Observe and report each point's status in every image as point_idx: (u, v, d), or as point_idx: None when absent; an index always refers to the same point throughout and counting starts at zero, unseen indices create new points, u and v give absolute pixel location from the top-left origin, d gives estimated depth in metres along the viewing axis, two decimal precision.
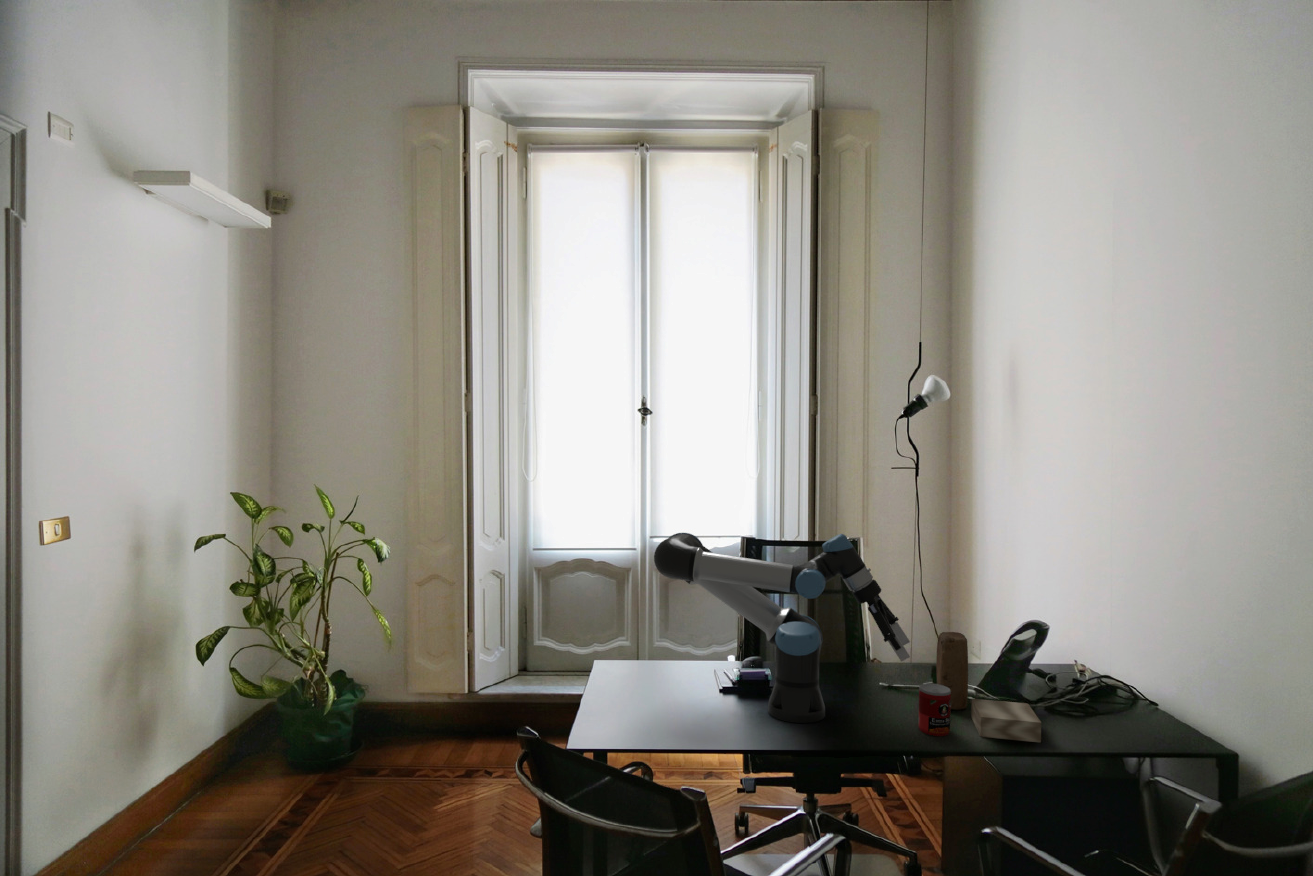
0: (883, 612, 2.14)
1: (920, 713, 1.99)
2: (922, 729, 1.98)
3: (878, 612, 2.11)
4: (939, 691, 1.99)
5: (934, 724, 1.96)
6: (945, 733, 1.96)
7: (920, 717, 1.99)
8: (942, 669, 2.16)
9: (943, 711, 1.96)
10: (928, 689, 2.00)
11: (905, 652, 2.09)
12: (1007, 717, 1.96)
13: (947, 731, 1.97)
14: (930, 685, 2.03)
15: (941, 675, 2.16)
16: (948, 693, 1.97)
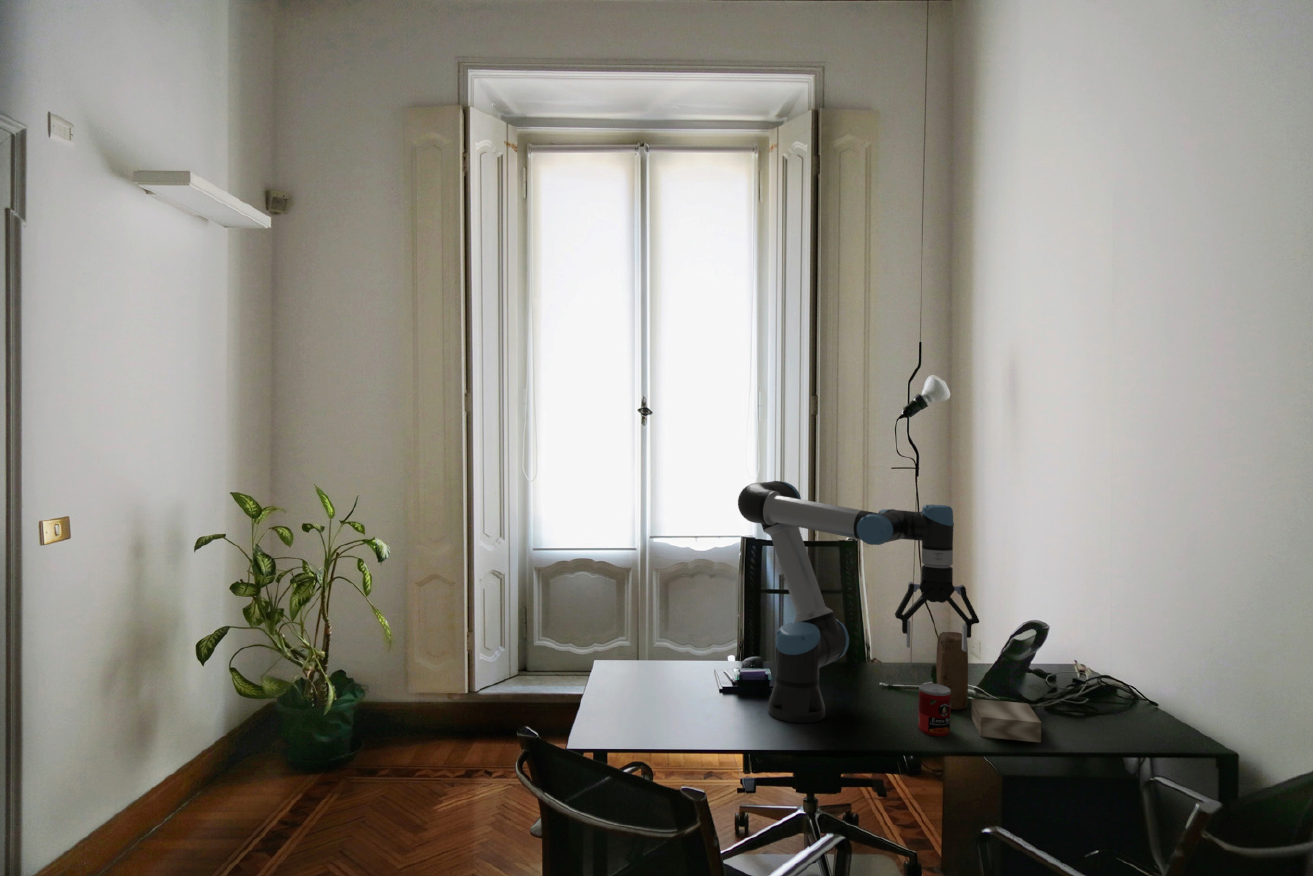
0: (921, 598, 1.99)
1: (920, 713, 1.99)
2: (922, 729, 1.98)
3: (908, 592, 2.00)
4: (939, 691, 1.99)
5: (934, 724, 1.96)
6: (945, 733, 1.96)
7: (920, 717, 1.99)
8: (942, 669, 2.16)
9: (943, 711, 1.96)
10: (928, 689, 2.00)
11: (907, 640, 2.00)
12: (1007, 717, 1.96)
13: (947, 731, 1.97)
14: (930, 685, 2.03)
15: (941, 675, 2.16)
16: (948, 693, 1.97)
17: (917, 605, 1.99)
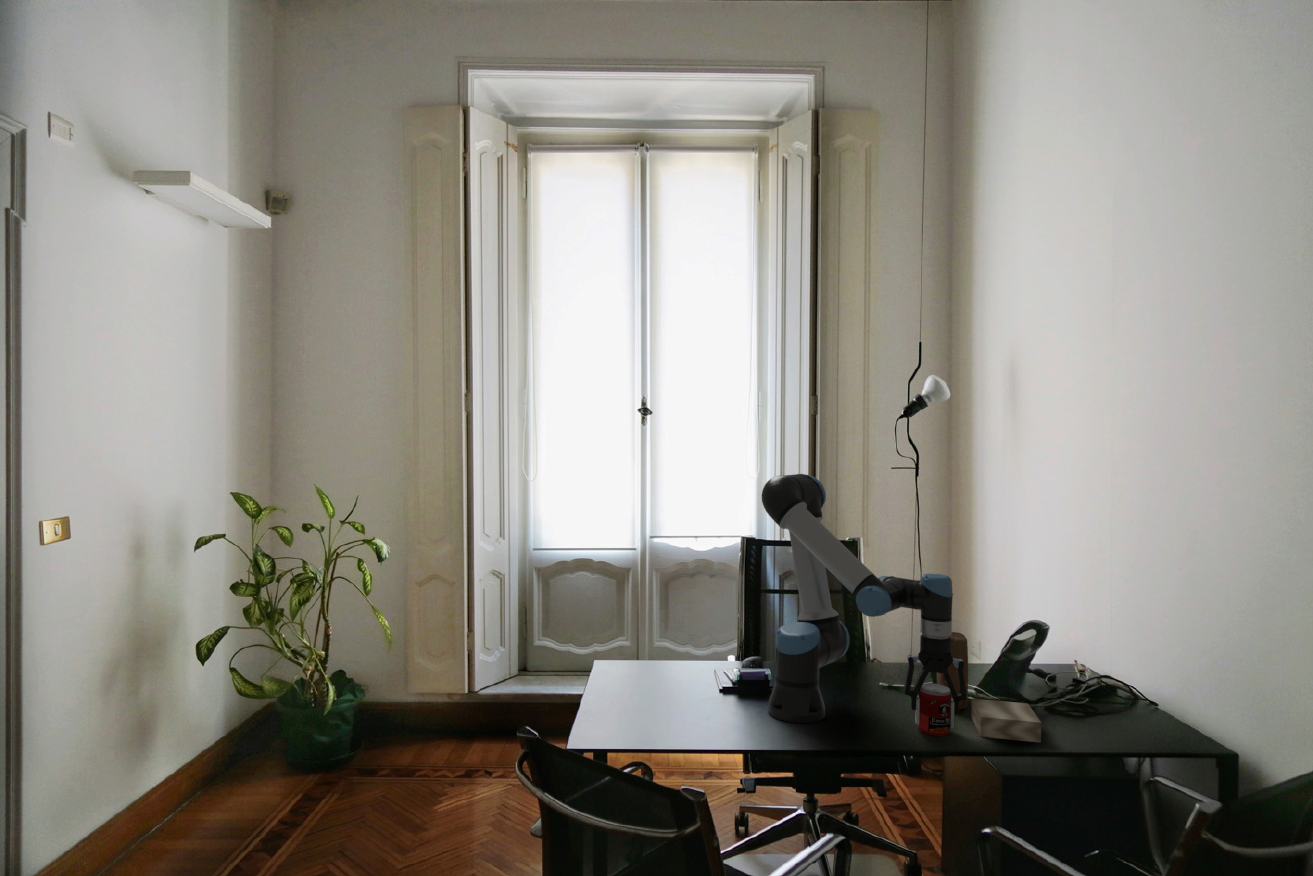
0: (923, 671, 1.99)
1: (920, 713, 1.99)
2: (922, 729, 1.98)
3: (909, 666, 2.00)
4: (939, 691, 1.99)
5: (934, 724, 1.96)
6: (945, 733, 1.96)
7: (920, 717, 1.99)
8: None
9: (943, 711, 1.96)
10: (928, 689, 2.00)
11: (916, 717, 2.00)
12: (1007, 717, 1.96)
13: (947, 731, 1.97)
14: (930, 685, 2.03)
15: (941, 675, 2.16)
16: (948, 693, 1.97)
17: (921, 679, 1.99)
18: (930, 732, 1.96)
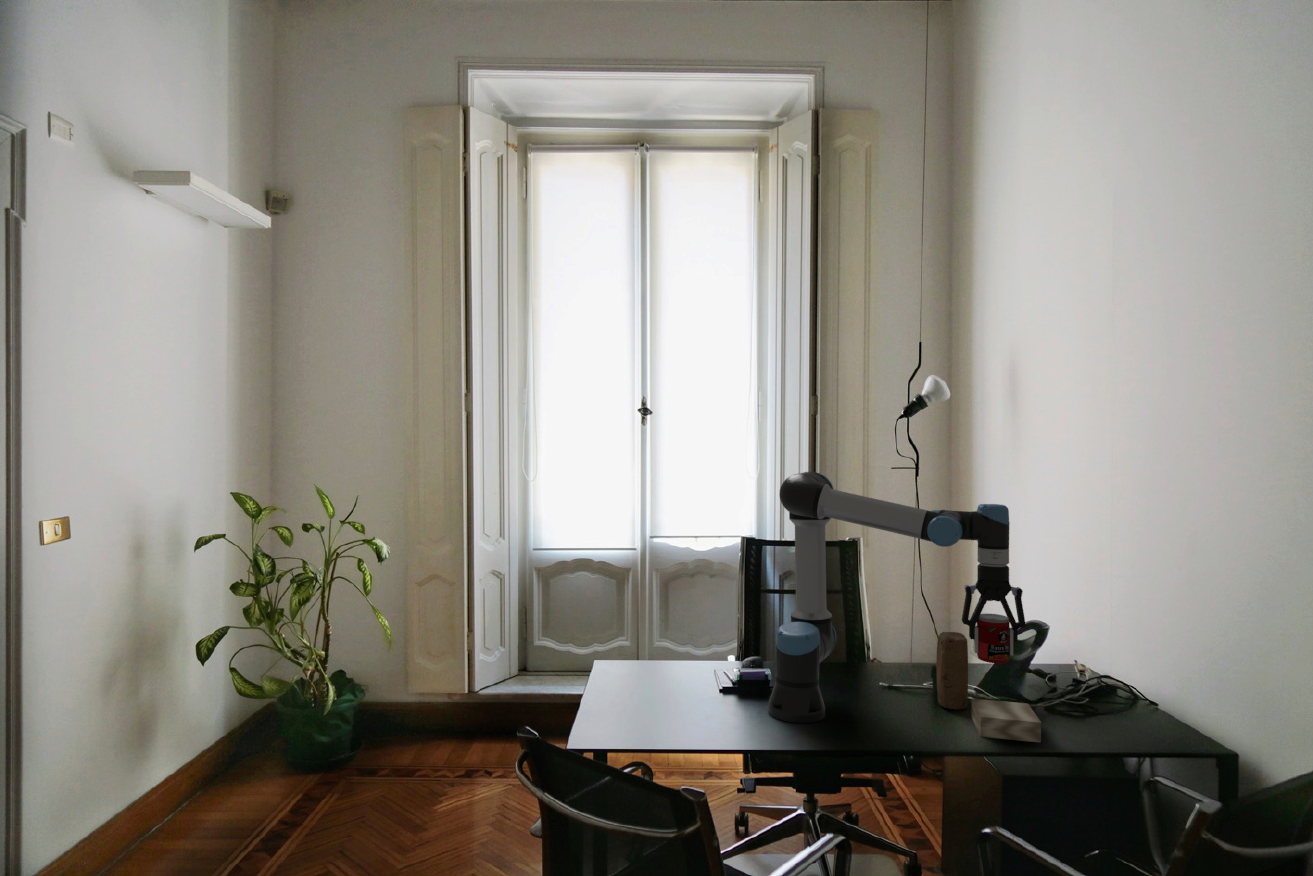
0: (981, 600, 2.00)
1: (979, 642, 2.00)
2: (981, 657, 1.99)
3: (966, 595, 2.01)
4: (998, 619, 1.99)
5: (994, 651, 1.97)
6: (1005, 660, 1.97)
7: (979, 646, 2.00)
8: (942, 669, 2.16)
9: (1002, 638, 1.97)
10: (986, 618, 2.01)
11: (974, 646, 2.01)
12: (1007, 717, 1.96)
13: (1007, 658, 1.97)
14: (987, 615, 2.03)
15: (941, 675, 2.16)
16: (1007, 620, 1.98)
17: (979, 608, 2.00)
18: (990, 659, 1.97)
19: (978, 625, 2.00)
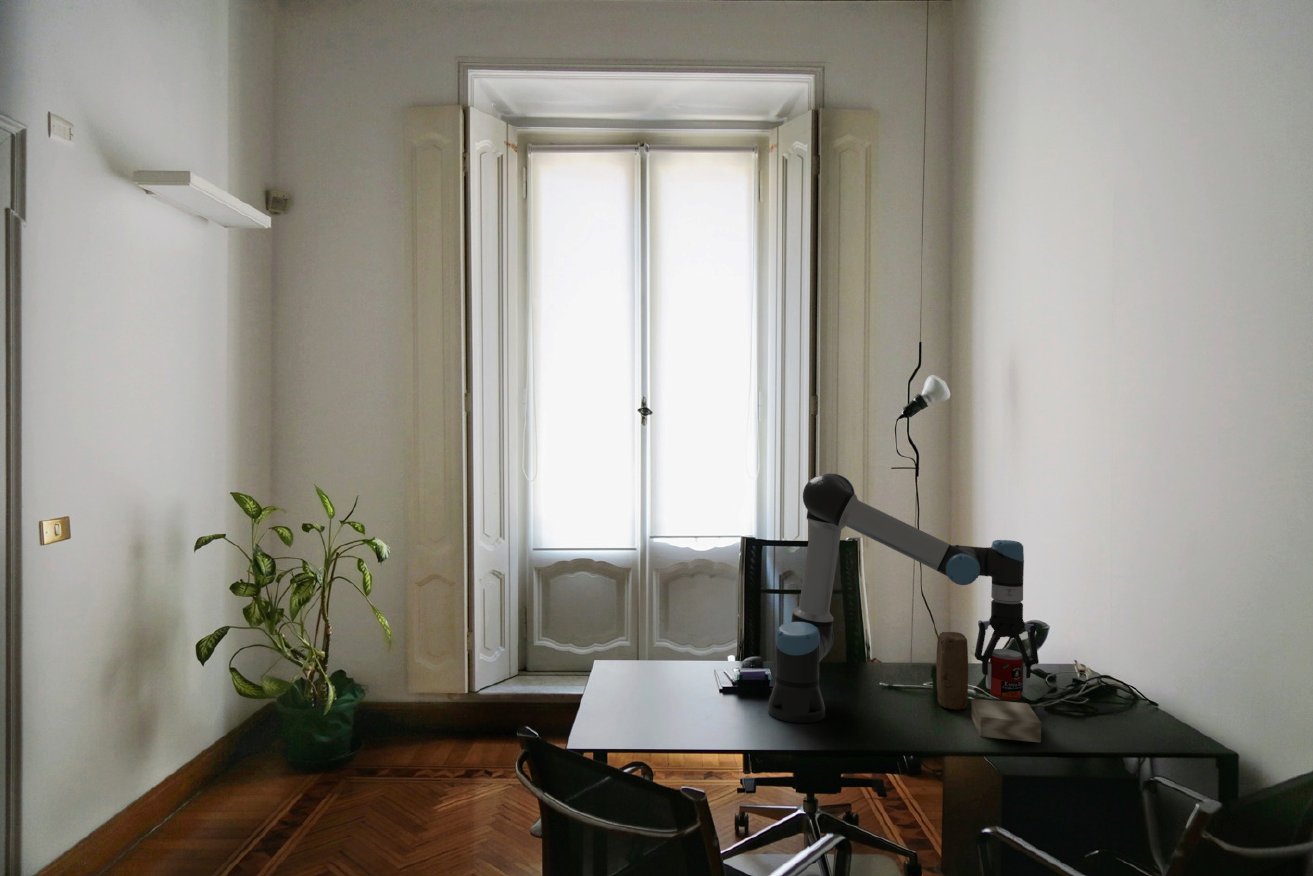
0: (995, 636, 2.01)
1: (992, 677, 2.01)
2: (994, 693, 2.00)
3: (980, 631, 2.02)
4: (1011, 655, 2.00)
5: (1007, 688, 1.98)
6: (1018, 697, 1.98)
7: (992, 681, 2.01)
8: (942, 669, 2.16)
9: (1016, 675, 1.97)
10: (999, 654, 2.01)
11: (987, 682, 2.01)
12: (1007, 717, 1.96)
13: (1020, 695, 1.98)
14: (1000, 650, 2.04)
15: (941, 675, 2.16)
16: (1020, 657, 1.98)
17: (993, 644, 2.01)
18: (1003, 696, 1.98)
19: (991, 661, 2.01)
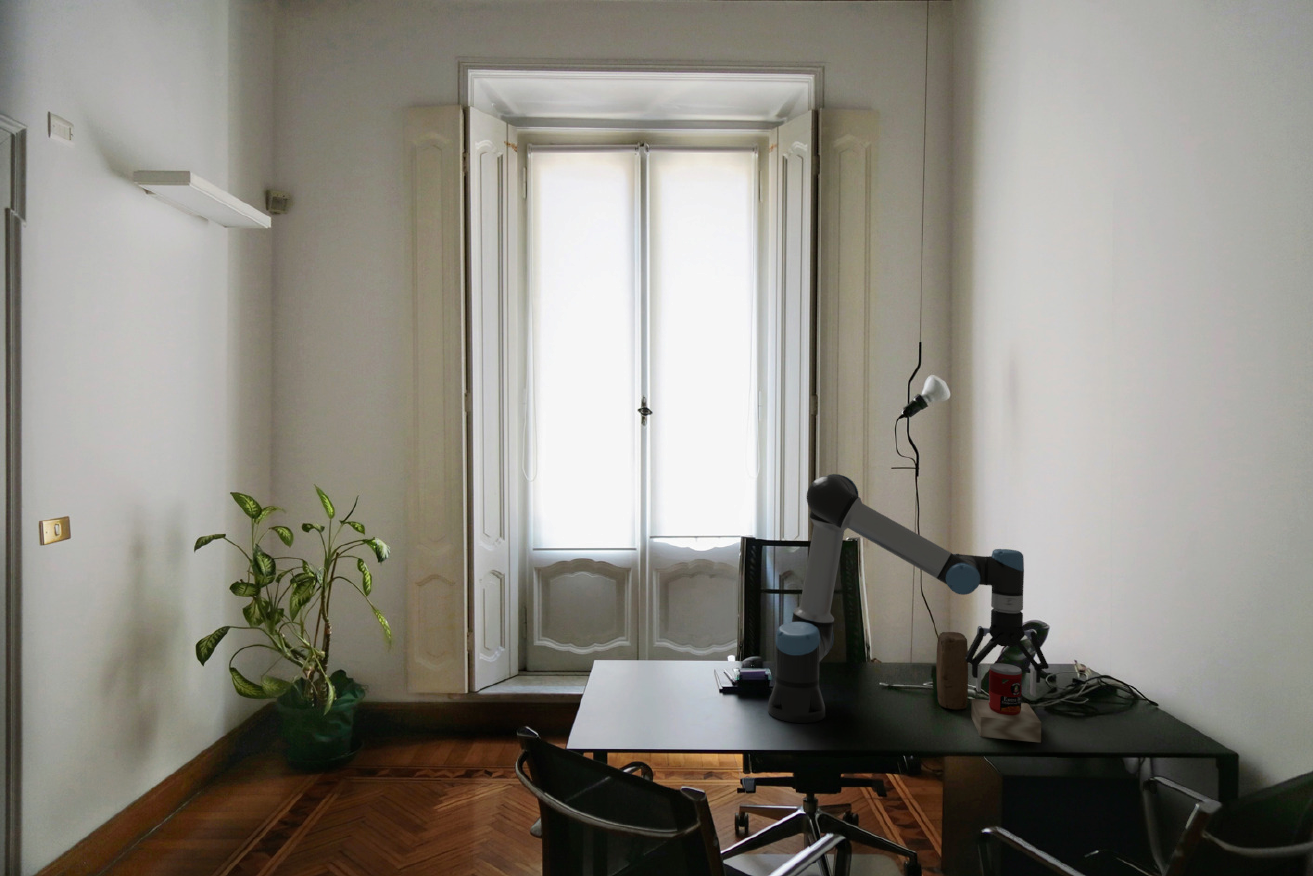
0: (992, 642, 2.01)
1: (991, 692, 2.01)
2: (993, 708, 2.00)
3: (977, 636, 2.02)
4: (1010, 670, 2.00)
5: (1006, 703, 1.98)
6: (1017, 712, 1.98)
7: (991, 696, 2.01)
8: (942, 669, 2.16)
9: (1015, 690, 1.98)
10: (999, 669, 2.01)
11: (977, 685, 2.02)
12: (1007, 717, 1.96)
13: (1019, 710, 1.98)
14: (999, 665, 2.04)
15: (941, 675, 2.16)
16: (1020, 672, 1.98)
17: (987, 649, 2.01)
18: (1002, 711, 1.98)
19: (991, 676, 2.01)
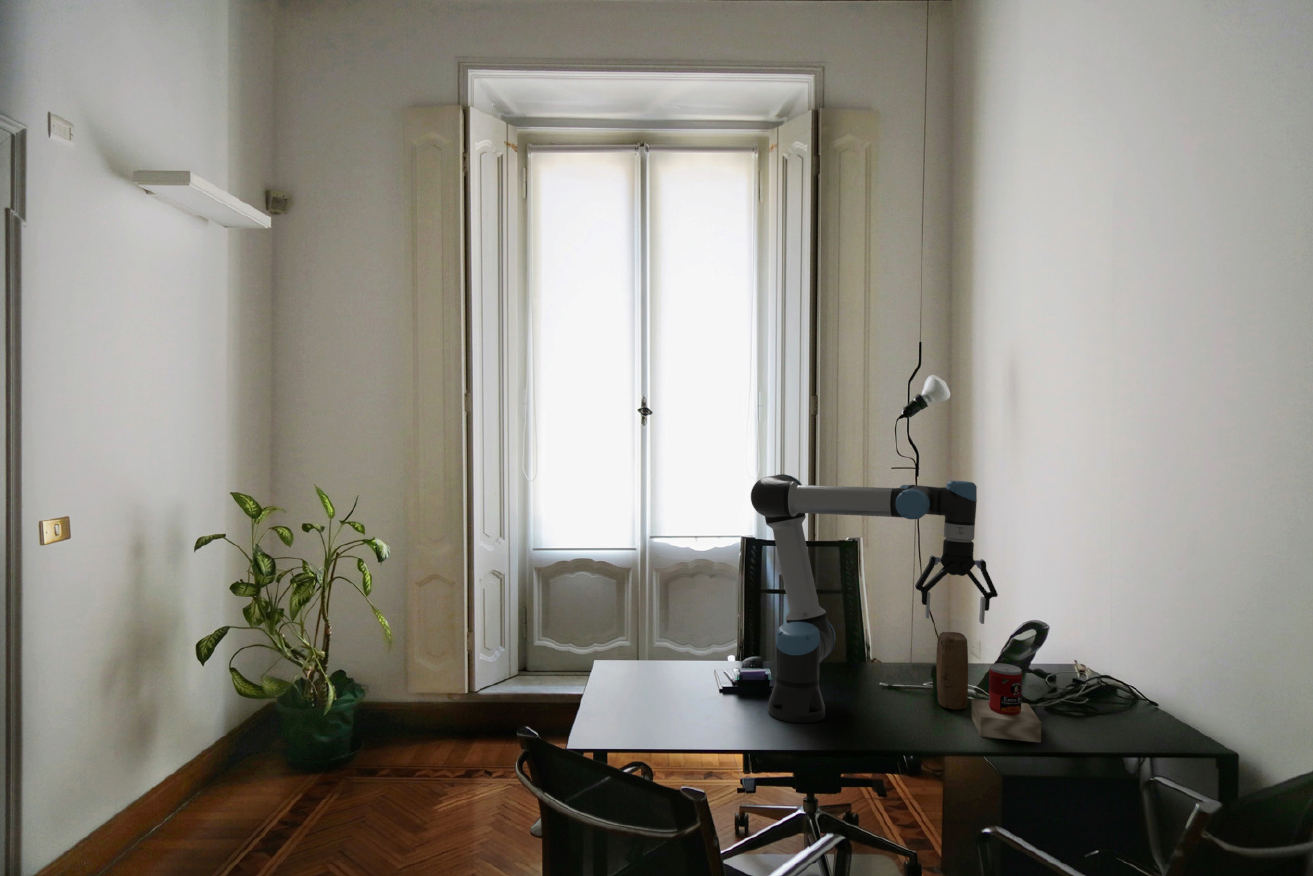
0: (942, 571, 2.05)
1: (991, 692, 2.01)
2: (993, 708, 2.00)
3: (929, 564, 2.06)
4: (1010, 670, 2.00)
5: (1006, 703, 1.98)
6: (1017, 712, 1.98)
7: (991, 696, 2.01)
8: (942, 669, 2.16)
9: (1015, 690, 1.98)
10: (999, 669, 2.01)
11: (926, 611, 2.06)
12: (1007, 717, 1.96)
13: (1019, 710, 1.98)
14: (999, 665, 2.04)
15: (941, 675, 2.16)
16: (1020, 672, 1.98)
17: (938, 577, 2.05)
18: (1002, 711, 1.98)
19: (991, 676, 2.01)
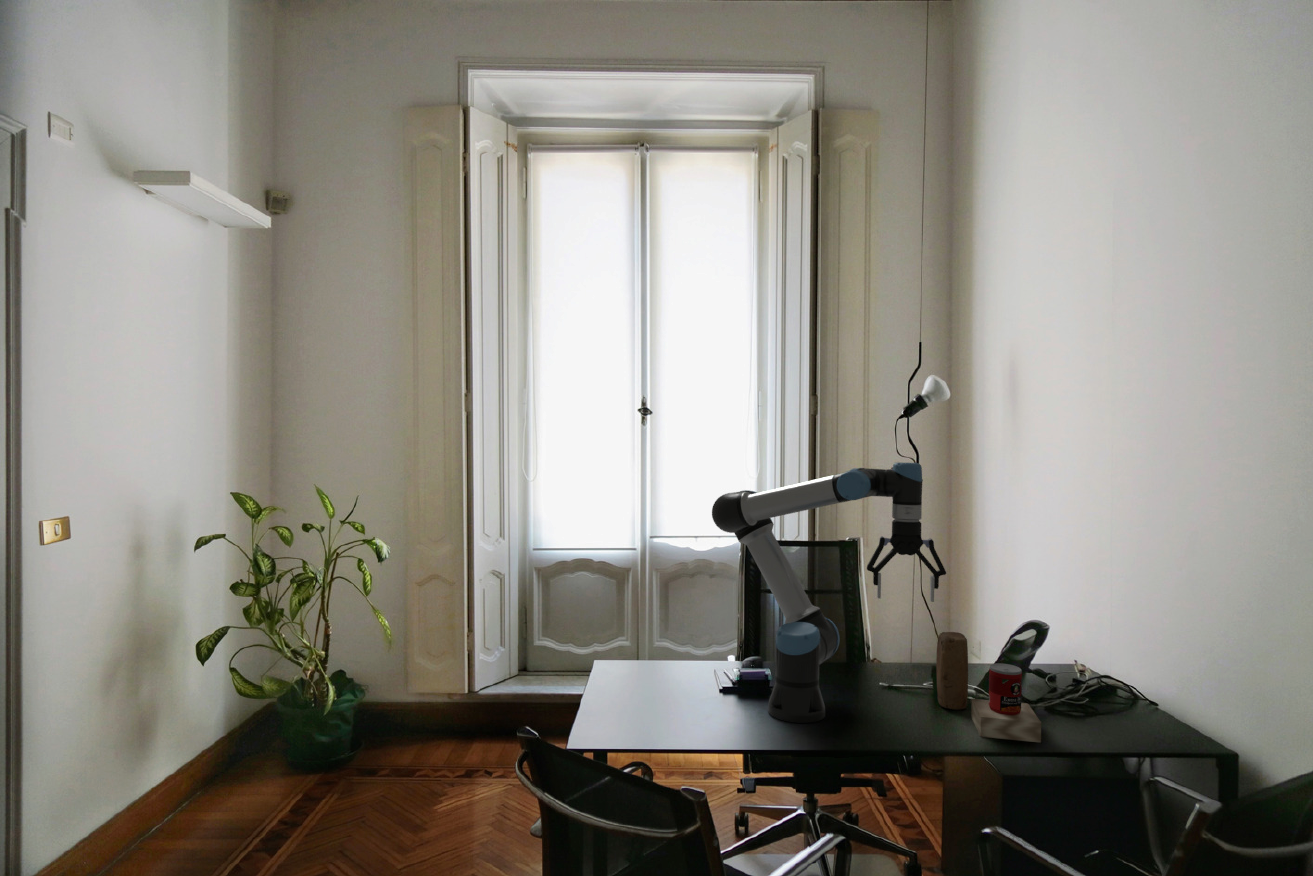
0: (891, 551, 2.08)
1: (991, 692, 2.01)
2: (993, 708, 2.00)
3: (878, 545, 2.10)
4: (1010, 670, 2.00)
5: (1006, 703, 1.98)
6: (1017, 712, 1.98)
7: (991, 696, 2.01)
8: (942, 669, 2.16)
9: (1015, 690, 1.98)
10: (999, 669, 2.01)
11: (877, 592, 2.10)
12: (1007, 717, 1.96)
13: (1019, 710, 1.98)
14: (999, 665, 2.04)
15: (941, 675, 2.16)
16: (1020, 672, 1.98)
17: (887, 558, 2.09)
18: (1002, 711, 1.98)
19: (991, 676, 2.01)
